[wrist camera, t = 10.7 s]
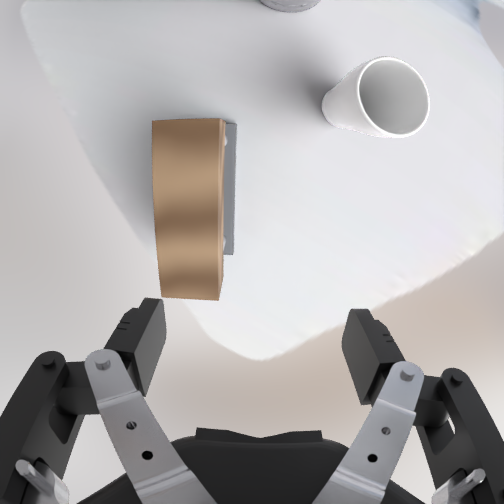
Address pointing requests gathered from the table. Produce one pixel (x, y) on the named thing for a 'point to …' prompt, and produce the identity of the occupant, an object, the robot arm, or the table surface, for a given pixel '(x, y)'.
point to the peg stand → (229, 188)
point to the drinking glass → (379, 99)
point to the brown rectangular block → (189, 206)
